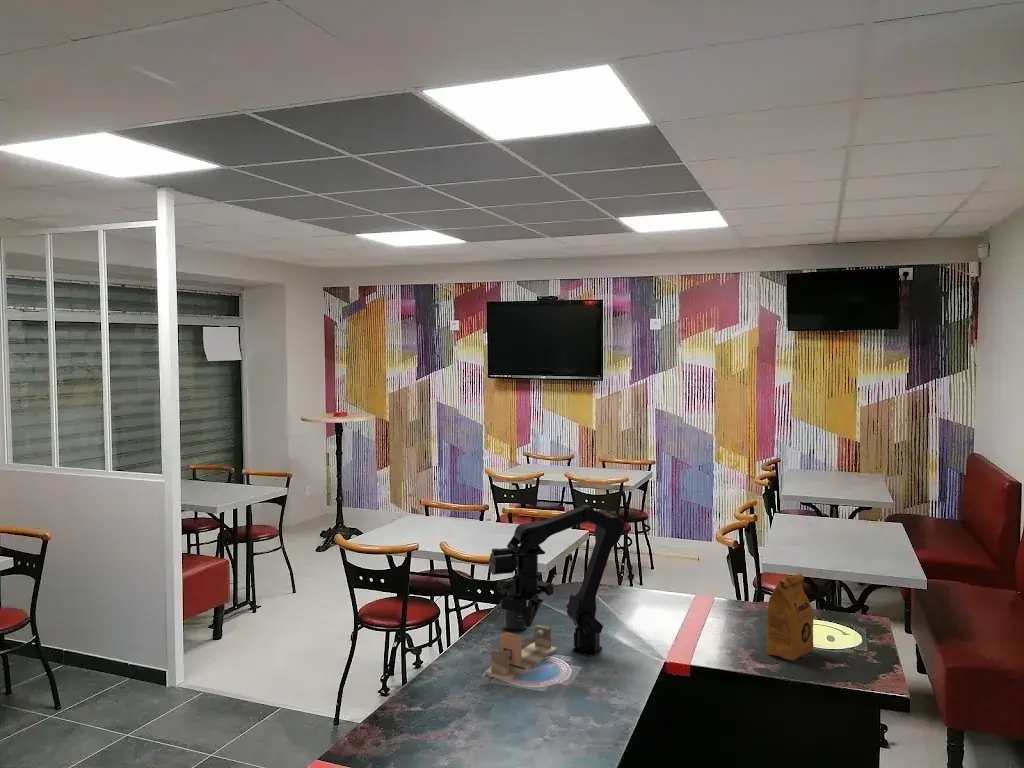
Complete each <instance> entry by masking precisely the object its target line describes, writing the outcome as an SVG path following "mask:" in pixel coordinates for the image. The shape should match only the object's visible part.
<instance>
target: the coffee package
mask: <svg viewBox="0 0 1024 768" xmlns="http://www.w3.org/2000/svg"><path fill="white" fill-rule="evenodd" d="M804 580H805V577H804V575H803V573H798V574H793V575H789V576H785V577H784V578H781V580H779V581H778V583H777V584H776V586H775V587H774V589H773V591H772V592H771V593H770V597H769V599H768V604H767V614H766V615H767V616H766V617H767V618H766V619H767V620H766V635H767V636H766V638H767V639H766V640H767V642H766V643H767V646H766V647H767V648H766V649H767V655H769V656H770V655H771V656H775V657H780V658H782V659H783V660H790V661H795V660H797V659H798V658H801V657H804V656H806V655H808V654H811V653H812V652H813V650H814V648H815V647H814V629H813V628H814V611H813V607H812V604H811V602H810V599H809V598H808V595H806V593H805V590H804V588H803V584H802V582H803V581H804Z"/></svg>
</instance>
